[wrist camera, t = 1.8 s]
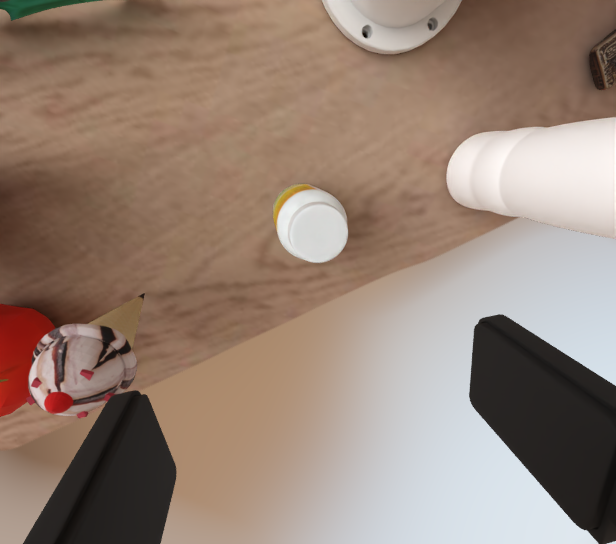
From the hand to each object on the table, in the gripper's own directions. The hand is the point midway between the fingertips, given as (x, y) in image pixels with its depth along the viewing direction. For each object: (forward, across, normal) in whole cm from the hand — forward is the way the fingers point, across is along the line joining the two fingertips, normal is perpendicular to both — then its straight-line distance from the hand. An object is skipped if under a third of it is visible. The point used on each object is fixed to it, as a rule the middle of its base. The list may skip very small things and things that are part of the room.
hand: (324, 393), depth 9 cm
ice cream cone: (+23, +13, +4) cm, 27 cm away
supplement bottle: (+23, -3, -1) cm, 23 cm away
